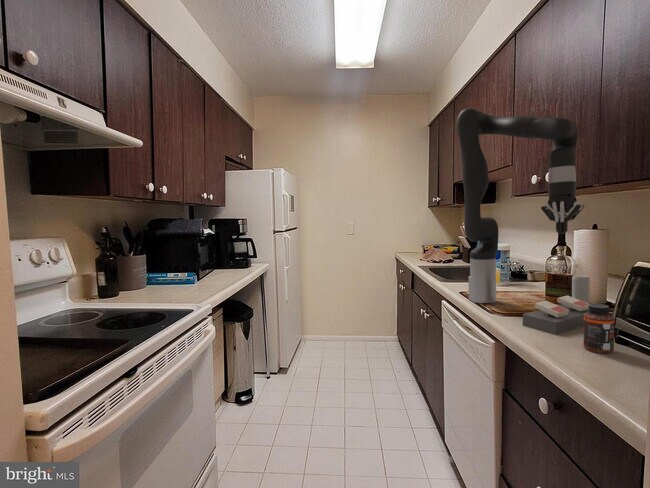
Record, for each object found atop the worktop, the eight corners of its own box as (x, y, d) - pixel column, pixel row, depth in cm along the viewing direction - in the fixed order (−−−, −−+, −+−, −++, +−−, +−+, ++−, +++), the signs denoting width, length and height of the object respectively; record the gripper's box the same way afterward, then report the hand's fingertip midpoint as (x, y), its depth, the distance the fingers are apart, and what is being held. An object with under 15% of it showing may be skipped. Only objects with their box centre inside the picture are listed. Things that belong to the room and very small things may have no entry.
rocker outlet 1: (534, 307, 105) (535, 302, 104) (544, 304, 107) (545, 300, 106) (557, 317, 99) (558, 312, 98) (567, 314, 101) (569, 310, 100)
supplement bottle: (616, 356, 81) (616, 309, 80) (584, 352, 84) (585, 307, 83) (611, 347, 86) (612, 303, 85) (582, 343, 89) (582, 301, 88)
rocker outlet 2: (556, 301, 109) (557, 297, 109) (566, 299, 111) (567, 295, 111) (580, 311, 103) (581, 306, 103) (589, 308, 105) (590, 304, 105)
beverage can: (573, 311, 116) (573, 277, 115) (570, 308, 120) (570, 274, 119) (590, 312, 113) (591, 277, 112) (587, 309, 118) (587, 274, 117)
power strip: (522, 325, 105) (522, 311, 105) (566, 313, 114) (566, 300, 114) (555, 334, 96) (555, 319, 96) (600, 321, 105) (600, 307, 105)
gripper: (534, 183, 116) (535, 233, 118) (576, 178, 104) (576, 234, 106) (548, 183, 120) (548, 232, 121) (590, 178, 108) (590, 233, 109)
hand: (561, 233), depth 113 cm, fingers closed
